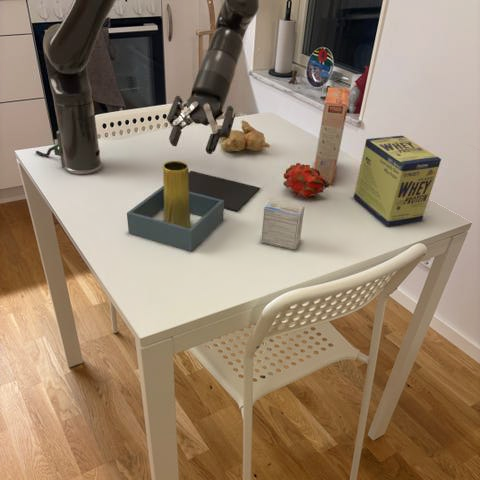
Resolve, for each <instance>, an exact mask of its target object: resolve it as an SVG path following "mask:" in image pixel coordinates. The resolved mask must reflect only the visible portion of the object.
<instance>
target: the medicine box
mask: <svg viewBox="0 0 480 480" xmlns="http://www.w3.org/2000/svg"><path fill="white" fill-rule="evenodd" d="M304 213H305V206H304V205H300V204H295V203H290V202H286V201H281V200H275V199H269V200H268V202H267V203H266V204H265V205H264V207H263V214H262V225H261V237H260V238H261V239H260V243H261V244H266V245H272V246H274V247H275V246H276V247H280V248H284V249H290V250H293V251H296V249H297V247H298V246H299V243H300V241H301V236H302V228H303V223H304V222H303V221H304V215H305V214H304Z"/></svg>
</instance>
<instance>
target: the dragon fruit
mask: <svg viewBox="0 0 480 480" xmlns="http://www.w3.org/2000/svg"><path fill="white" fill-rule="evenodd" d="M317 173H318V174H317ZM319 174H320V172H319V171H318V170H317V169H314V166H313V167H311V165H310V164H308V163H307V164H306V165H305V164H304V163H301V162H295V164H291V165H290V166H289V167H288V168H286V169H285V172H284V173H283V174H282V175H283V179H285V181H284V182H283V185H284V187H286V188H290V190H291V191H292V193H293V194H294V197H298V196H303V197H304V198H307V199H311V200H312V199H316V198H318V197H317V196H315V195H317V194H320V193H322V194H323V193H324V190H326V189H327V188H330V184H329V183H328V181H327V179H325V178H324V177H321V176H320V175H319Z"/></svg>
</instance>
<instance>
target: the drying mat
mask: <svg viewBox="0 0 480 480" xmlns="http://www.w3.org/2000/svg"><path fill="white" fill-rule="evenodd" d="M188 184H189V192H193V193H197V194H201V195H205V196H209V197H212V198H216V199H220V200H224V209H225V210H229V211H233V212H237V213H238V212H239V211H240V210H241V209H242V208H243V207H244V206H245V205H246V204H247V203H248V202H249V201H250V200H251V199H252V198H253V196H255V195H256V193H258V192H259V190H260V187H259V186H255V185H251V184H247V183H244V182H243V183H242V182H238V181H235V180H230V179H226V178H222V177H218V176H214V175H210V174H207V173H201V172H198V171H193V170H190V171H188Z"/></svg>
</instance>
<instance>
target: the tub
mask: <svg viewBox="0 0 480 480" xmlns="http://www.w3.org/2000/svg"><path fill="white" fill-rule="evenodd" d="M189 206H190V214H193V215H197V216H200V219H198V221H196V222H195V223H194V224H193V225H191V227H190V228H186V227H183V226H179V225H175V224H172V223H168V222H165V221H164V220H161V219H157V218H154V217H155V216H156V215H158V214H159V213H160V212H161V211H162V210H164V185H162V186H161V187H159V188H158V189H157V190H155V191H154V192H152V193H151V194H150V195H149V196H148V197H146V198H145V199H143V200H142V201H140V202H139V203H138V204H137V205H136V206H134V207H133V208H132V209H129V210H128V212H126V219H127V221H126V222H127V229H128V234H131V235H133V236H137V237H140V238H144V239H147V240H151V241H154V242H157V243H161V244H164V245H167V246H170V247H175V248H177V249H181V250H184V251H188V252H193V251H194V250H195V249H196V248H197V247H198V246H199V245H200V244H201V243H202V242H203V241H204V240H205V239H206V238H207V237H208V236H209V235H210V234H211V233H212V232H213V231H214V230H216V229H217V227H218V226H219V225H220V224H221V223H222V222H223V221H224V214H225V211H224V209H225V208H224V200H220V199H216V198H212V197H209V196H205V195H201V194H197V193H193V192H189Z"/></svg>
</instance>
